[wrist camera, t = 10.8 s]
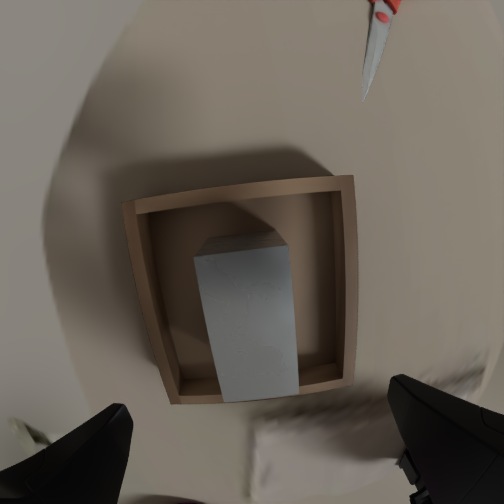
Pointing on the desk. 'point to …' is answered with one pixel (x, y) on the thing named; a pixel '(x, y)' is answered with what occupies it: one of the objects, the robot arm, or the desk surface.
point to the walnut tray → (301, 263)
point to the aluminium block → (249, 314)
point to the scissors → (377, 38)
